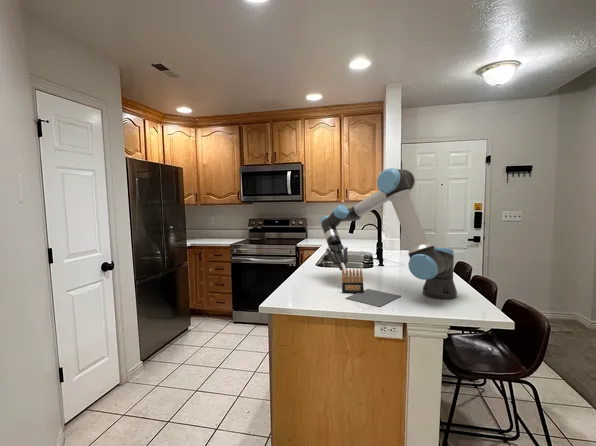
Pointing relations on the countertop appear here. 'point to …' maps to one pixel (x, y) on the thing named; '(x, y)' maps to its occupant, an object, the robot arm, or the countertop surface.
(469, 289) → the countertop surface
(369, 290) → the rubber mat
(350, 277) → the ammunition clip
